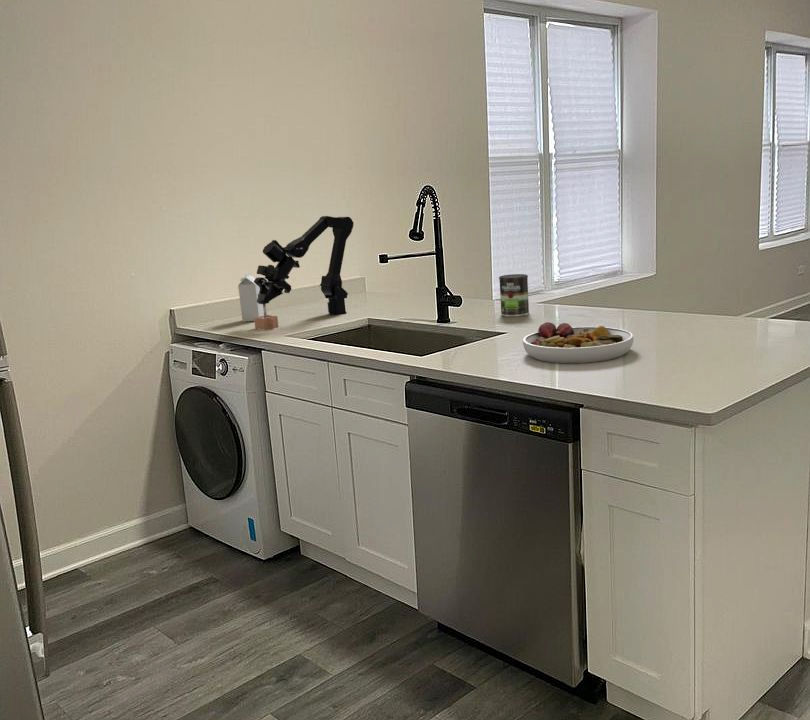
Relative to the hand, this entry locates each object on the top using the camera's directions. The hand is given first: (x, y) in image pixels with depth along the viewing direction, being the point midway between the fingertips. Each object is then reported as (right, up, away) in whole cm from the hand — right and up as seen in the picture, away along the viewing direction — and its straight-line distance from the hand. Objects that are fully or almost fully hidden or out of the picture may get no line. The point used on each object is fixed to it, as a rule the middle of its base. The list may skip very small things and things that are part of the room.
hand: (260, 302), depth 318 cm
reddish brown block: (+3, -9, +2) cm, 10 cm away
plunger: (+2, -6, +2) cm, 7 cm away
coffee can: (+95, -5, -13) cm, 96 cm away
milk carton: (-7, -6, +24) cm, 26 cm away
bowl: (+103, -20, -84) cm, 134 cm away
